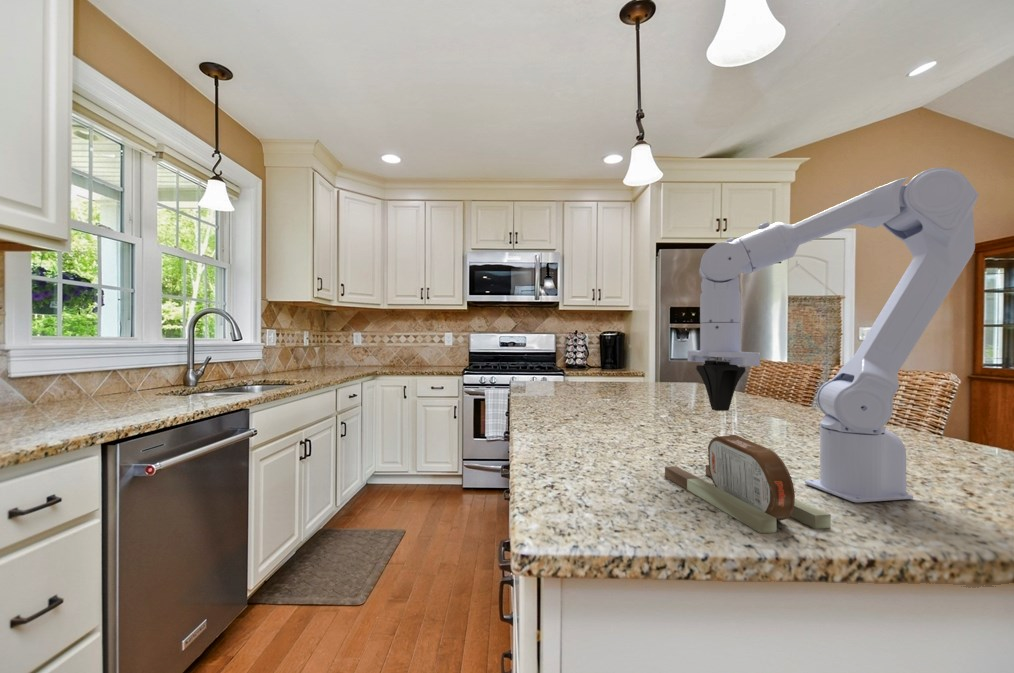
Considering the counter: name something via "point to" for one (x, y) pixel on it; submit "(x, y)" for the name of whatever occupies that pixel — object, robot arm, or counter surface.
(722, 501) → the rail
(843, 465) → the robot arm
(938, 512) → the counter surface
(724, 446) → the tin
